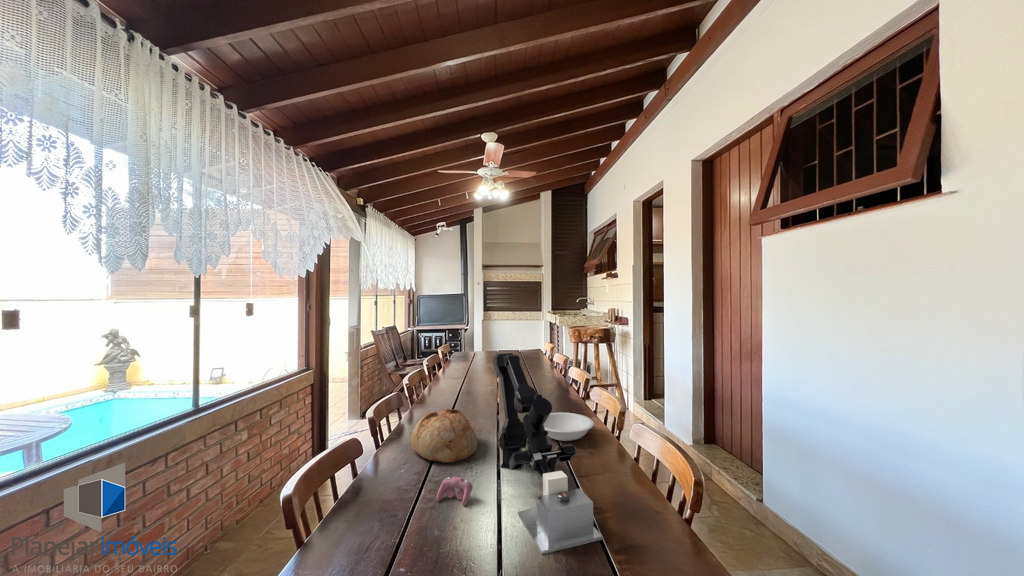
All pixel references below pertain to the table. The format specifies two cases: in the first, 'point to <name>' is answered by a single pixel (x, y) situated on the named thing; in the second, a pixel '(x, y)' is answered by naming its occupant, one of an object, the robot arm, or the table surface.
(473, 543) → the table surface
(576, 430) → the soup bowl
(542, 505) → the mount
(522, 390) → the robot arm
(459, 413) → the bread
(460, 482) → the video game controller
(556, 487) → the white rectangular block
